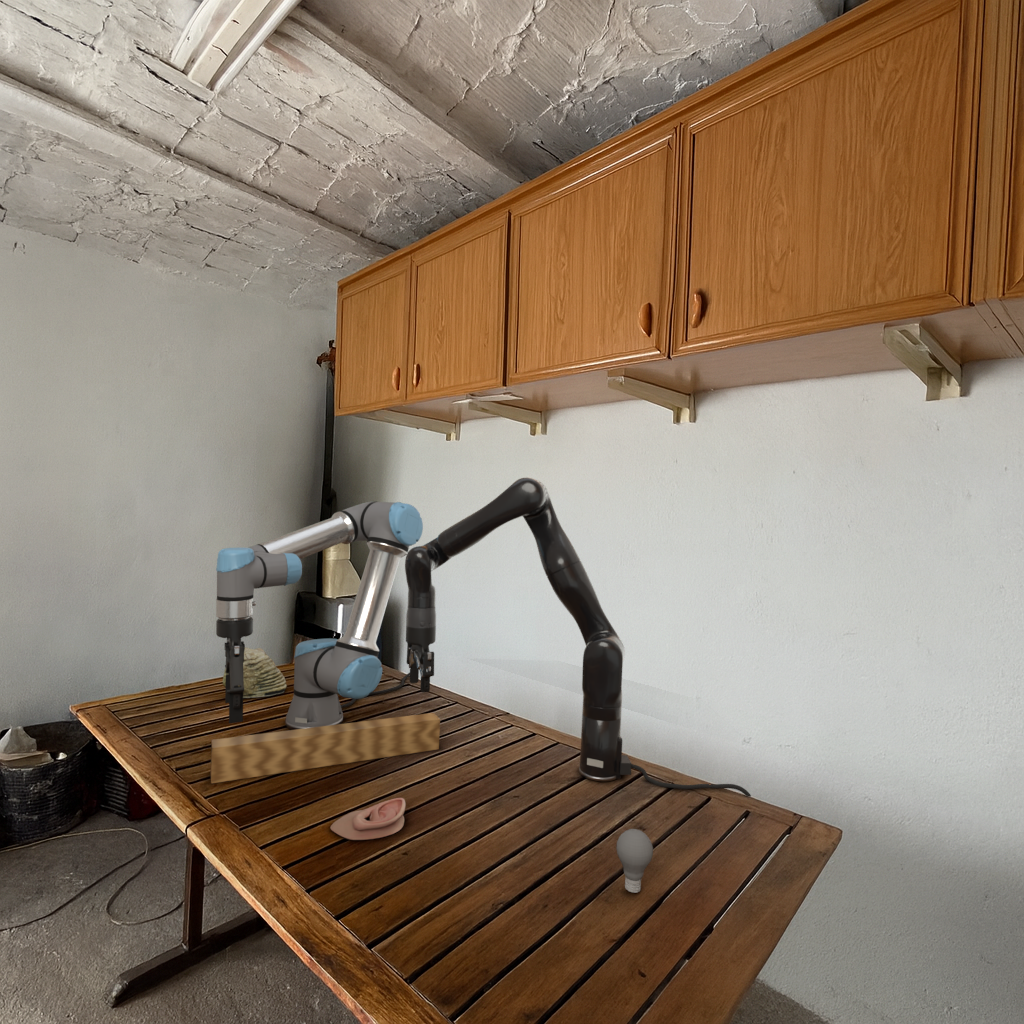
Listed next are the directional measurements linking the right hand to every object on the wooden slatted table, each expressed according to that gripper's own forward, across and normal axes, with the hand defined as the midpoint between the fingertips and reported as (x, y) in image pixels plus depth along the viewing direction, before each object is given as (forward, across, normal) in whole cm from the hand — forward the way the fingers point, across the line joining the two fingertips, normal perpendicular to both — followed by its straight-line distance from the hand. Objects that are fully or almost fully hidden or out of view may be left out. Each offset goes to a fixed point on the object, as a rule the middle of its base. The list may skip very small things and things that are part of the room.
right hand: (419, 687), depth 161 cm
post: (+15, 0, +21) cm, 26 cm away
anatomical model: (+16, -33, +21) cm, 42 cm away
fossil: (+15, +58, +34) cm, 69 cm away
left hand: (+1, 0, +43) cm, 43 cm away
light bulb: (+16, -70, -14) cm, 73 cm away
